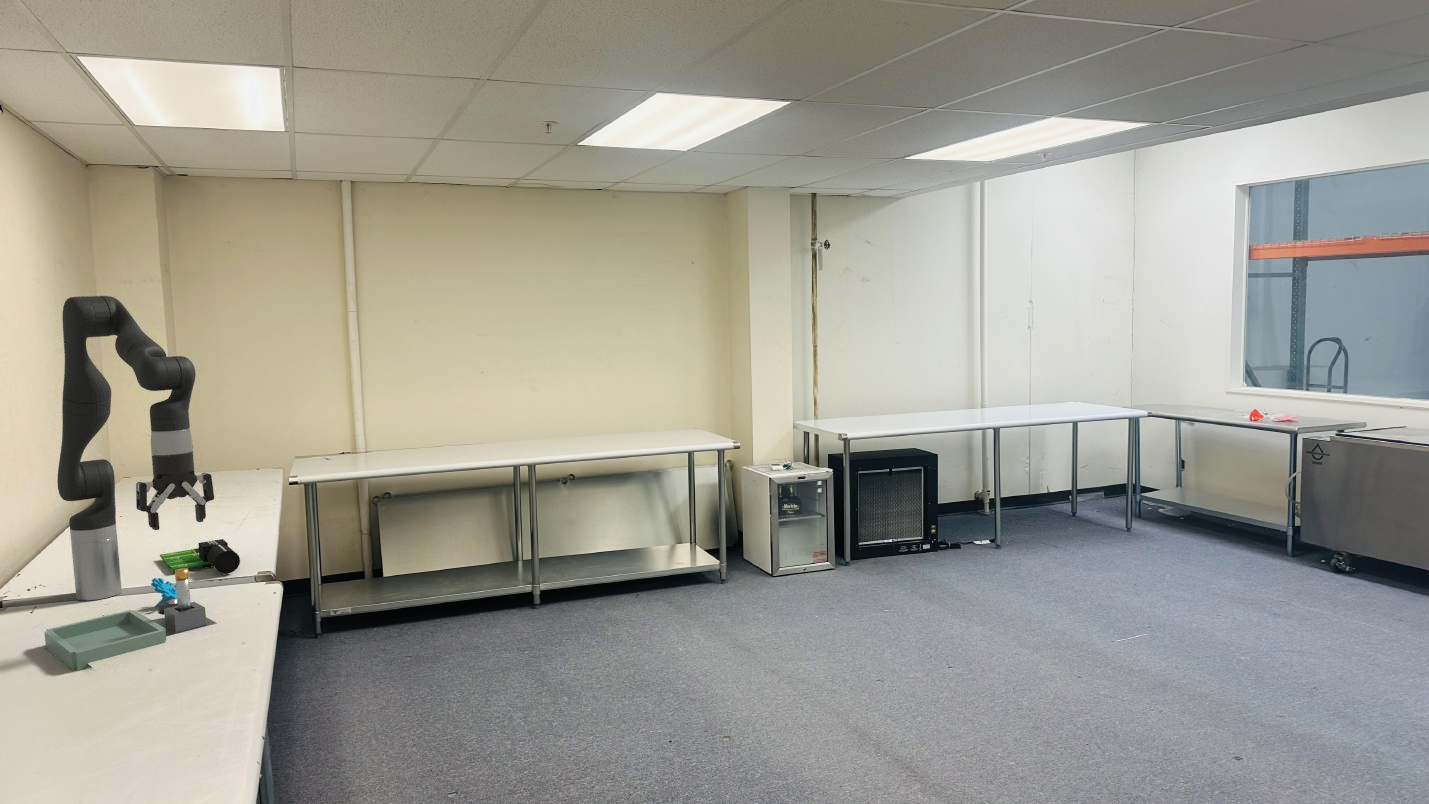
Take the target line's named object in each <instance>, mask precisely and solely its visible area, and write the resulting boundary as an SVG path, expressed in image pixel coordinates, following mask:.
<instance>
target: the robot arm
mask: <svg viewBox="0 0 1429 804" xmlns="http://www.w3.org/2000/svg"><path fill="white" fill-rule="evenodd" d="M61 316H62V334H63V335H62V336H63V351H64V353H63V354H64V370H63V371H64V373H63V375H64V376H63V387H62V406H61V407H62V409H61V410H62V411H61V413H62V418H61V419H62V433H61V434H62V435H61V446H60V447H61V448H60V455H59V461H58V468H57V469H58V470H57V480H56V482H57V490H58V495H59V496H60V498H61V499H62V500H63V501H65V502H77V501H84V500H90V499H91V500H93V499H94V501H93V502H92V504H90V506H88V507H86V508H85V509H83V510H81V511H79V512H77V513H75V514H73V515H72V516H71V517H70V518H69V523H68V525H69V535H70V545H71V554H72V555H71V556H72V567H73V568H72V569H73V579H74V589H75V599H76V600H79V601H96V600H101V599H102V600H103V599H107V598H111V597H114V596H117V595H118V594H121V592H122V581H121V579H122V578H121V567H120V565H121V563H120V555H119V554H120V553H119V543H118V531H117V530H118V529H117V519H116V515H117V513H116V512H117V509H116V508H117V507H116V480H115V479H116V477H115V470H114V468H113V465H112V464H111V462H110V461H109V460H108V459H104V458H103V459H92V460H83V461H81V460H82V457H83V455H84V453H85V449H86V448H87V446H88V445H89V444H90V442H91V441H92V440H93V438H95V436H96V435H97V434H98V433H99V432H100V431H101V429H102V428H103V427H104V426H105V424H106V423H107V421H108V420H109V418H110V415H111V409H112V408H111V406H112V405H111V404H112V388H111V386H110V383H109V382H108V380H107V378H106V377H105V376H104V375H103V373H102V372H101V371H100V370H99V369H98V368H97V366H96V365H95V364H94V363H93V360H92V359H91V358H90V356H89V353H88V350H87V340H88V338H99V337H100V338H101V337H103V338H104V337H110V336H117V337H116V339H115V343H114V346H115V351H116V354H117V355H118V357H120V359H121V360H122V361H123V362H125V364H126V365H128V366H129V367H130V368H132V371H133V373H134V375H135V378H136V380H137V383H138V385H139V386H140V387H141V388H143V389H145V390H147V391H150V392H158V391H159V392H161V391H169V390H170V395H168V396H169V397H168V398H167V399H164V400H161V401H158V402H155V403H153V404H151V406H150V407H149V420H150V421H149V423H150V453H151V461H152V462H151V463H152V474H153V475H152V477H153V478H152V480H151V481H146V482H145V481H138V482H136V484H135V490H136V491H135V493H136V494H135V495H136V497H135V498H136V499H135V500H136V503H135V505H136V510H137V511H141V512H143V513H144V512H146V513H147V519H148V520H147V521H148V527H150V528H151V529H152V530H154V531H159V530H160V520H159V518H160V517H159V516H160V515H159V512H158V510H159V508H160V507H161V506H162V505H163V504H164V503H165V501H166V500H167V499H168V500H174V499H177V498H186V497H187V496H188V497H189V498H191V500H192V501H194V502H195V504H194V511H195V520H196V522H197V523H203V522H204V520H205V519H206V516H207V513H206V504H207V503H208V502H211V501H214V499H215V493H214V485H213V477H212V474H210V473H209V472H208V473H207V472H202V473H201V474H198V475H196V473H195V463H194V462H195V460H194V443H193V437H192V432H191V428H190V427H191V426H190V425H191V424H190V415H189V413H190V412H189V409H190V404H191V397H192V395H193V394H192V393H193V390H194V385H195V382H196V381H195V380H196V374H197V373H196V367H195V365H194V363H193V362H192V360H191V359H189V358H188V357H186V356H182V355H174V356H167V353H166V351H165V350H164V348H163V347H162V346H161V345H160V344H159V343H157V342H156V341H154V340H153V339H152V338H151V337H150V336H148V335H147V334H146V333H145V332H144V331H143V330H142V328H141V327H140V326H139V324H138V323H137V321H136V320H135V319H134V317H133V316H132V314H131V313H130V312H129V310H128V309H127V308H126V307H125V306H124V304H123V303H122V302H121V301H120V300H119V299H118V298H116V297H115V296H114V297H113V296H109V295H95V296H94V295H89V296H70V297H68V298H67V299H66V300H65V301H64V303H63V308H62V315H61ZM198 482H199V484H201V485H202V492H203V496H202V495H200V493H199V492H198V490H195V489H194V487H195V485H196V484H197V483H198ZM151 488H152V489H154V490H155V491H156V492H155V493H154V495H153V496H152V498H151V500H150V502H149V504H148V493H150V491H151Z"/></svg>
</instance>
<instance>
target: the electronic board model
mask: <svg viewBox="0 0 1429 804" xmlns="http://www.w3.org/2000/svg"><path fill="white" fill-rule="evenodd" d="M159 557H160V558H161V559H162V561H163V562H164V563H165V564H166V565H167V567H169V569H170V570H171V571H174V572H175V570H177V569H181V568H188V569H189V568H196V567H203V568H204V567H208V568H214V569H215V570H216V571H217V572H218V573H220V574H223V575H224V574H225V575H226V574H227V575H228V574H231V573H234V572H236V570H238V568H239V566H240V564H241V558H240V555H239V554H238V553H237V552H236V551H235V550H234V549H232V548H230V547H229V543H228V542H227V541H225V539H223V538H222V539H214V540H208V541H202V542H198V547H196V548H192V549H186V550H179V551H175V552H174V551H173V552H168V553H161V554H159ZM211 566H213V567H211Z"/></svg>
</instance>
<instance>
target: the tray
mask: <svg viewBox="0 0 1429 804" xmlns="http://www.w3.org/2000/svg"><path fill="white" fill-rule="evenodd" d="M44 641H45V649H46V648H47V649H46V650H48V651H49V652H50V653H51V654H52V653H53V654H52V655H54V657H56V658H57V659H58V660H60V661H61V662H62V663H63V664H64V665H66V666H67V667H68V668H69V669H70V668H71V669H70V670H71V671H74V669H75V670H76V671H78V670H79V671H82V669H83V670H86V669H89V668H92V666H91V663H93V662H97V661H102V660H105V659H109V658H113V657H116V656H121V655H125V654H127V653H132V652H135V651H139V650H144V649H146V648H147V649H148V648H150V647H155V646H159V645H162V644H166V641H167V637H166V629H165V628H164V627H162V626H160V625H159V624H157V623H155V622H154V620H152V619H150V618H148V617H147V616H145V615H143V614H142V613H140V612H138V611H137V610H131V609H129V610H125V611H120V612H116V613H112V614H108V615H103V616H99V617H94V618H91V619H86V620H82V621H78V622H73V623H68V624H65V625H64V624H63V625H60V626H55V627H52V628H48V629H46V630H45V631H44ZM89 663H90V664H89Z"/></svg>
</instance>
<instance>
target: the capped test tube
mask: <svg viewBox="0 0 1429 804" xmlns="http://www.w3.org/2000/svg"><path fill="white" fill-rule="evenodd" d="M189 573H190V572H189V568H181V569H177V570H174V577H175V586H176V588H177V601H178V611H179V612H180V611H184V610H188V609H191V602H192V601H191V591H190V575H189Z"/></svg>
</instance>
